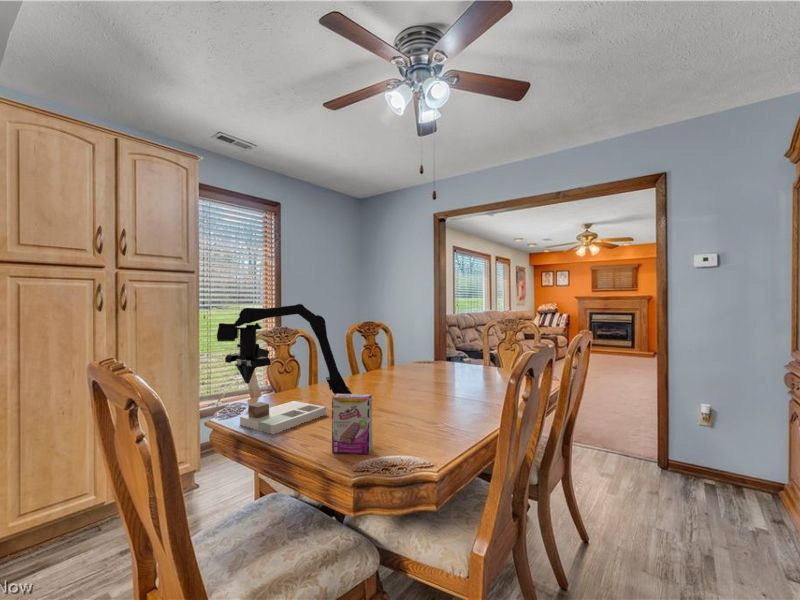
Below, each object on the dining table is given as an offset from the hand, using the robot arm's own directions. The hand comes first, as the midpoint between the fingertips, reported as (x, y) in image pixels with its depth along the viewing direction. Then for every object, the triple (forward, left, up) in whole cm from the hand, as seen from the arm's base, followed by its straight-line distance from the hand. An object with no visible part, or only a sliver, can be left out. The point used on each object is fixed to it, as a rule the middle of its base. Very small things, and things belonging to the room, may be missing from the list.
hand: (247, 383), depth 142 cm
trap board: (-12, -8, -14) cm, 19 cm away
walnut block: (-7, +1, -11) cm, 13 cm away
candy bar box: (-52, +2, -14) cm, 54 cm away
